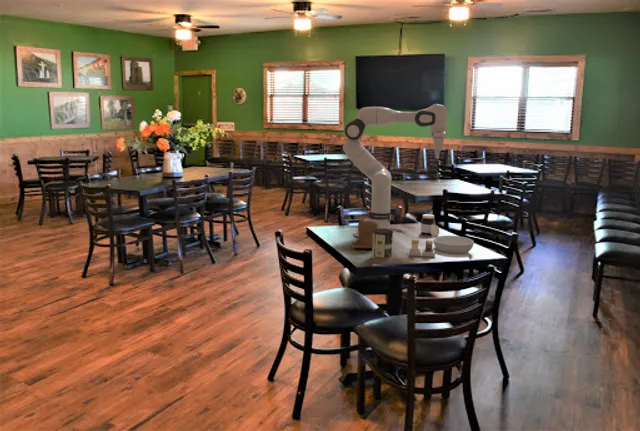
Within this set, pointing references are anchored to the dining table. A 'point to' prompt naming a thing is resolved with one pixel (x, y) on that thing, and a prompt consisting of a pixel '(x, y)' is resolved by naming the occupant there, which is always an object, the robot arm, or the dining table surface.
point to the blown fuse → (428, 246)
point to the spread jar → (429, 225)
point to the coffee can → (382, 243)
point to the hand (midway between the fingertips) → (436, 157)
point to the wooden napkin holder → (365, 235)
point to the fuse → (415, 245)
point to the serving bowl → (453, 244)
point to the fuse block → (421, 254)
